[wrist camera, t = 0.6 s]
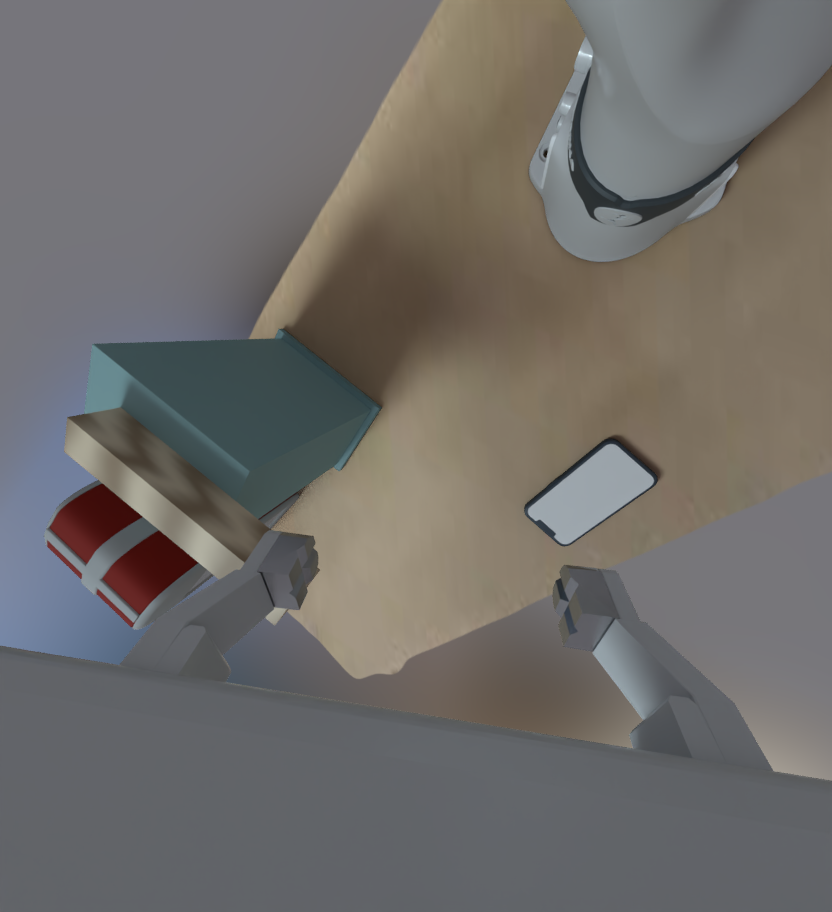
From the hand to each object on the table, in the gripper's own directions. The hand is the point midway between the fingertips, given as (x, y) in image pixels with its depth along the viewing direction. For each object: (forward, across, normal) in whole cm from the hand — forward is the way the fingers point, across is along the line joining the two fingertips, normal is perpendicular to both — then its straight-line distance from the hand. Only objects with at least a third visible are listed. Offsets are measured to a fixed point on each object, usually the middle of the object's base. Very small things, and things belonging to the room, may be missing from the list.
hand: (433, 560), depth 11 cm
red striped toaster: (+40, +38, +34) cm, 65 cm away
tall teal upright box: (+41, +22, +15) cm, 49 cm away
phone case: (+32, -20, +21) cm, 43 cm away
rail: (+14, +21, +13) cm, 28 cm away
